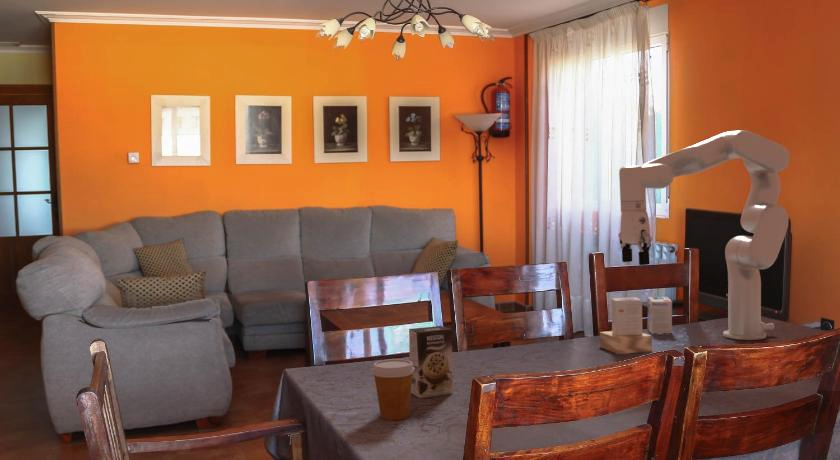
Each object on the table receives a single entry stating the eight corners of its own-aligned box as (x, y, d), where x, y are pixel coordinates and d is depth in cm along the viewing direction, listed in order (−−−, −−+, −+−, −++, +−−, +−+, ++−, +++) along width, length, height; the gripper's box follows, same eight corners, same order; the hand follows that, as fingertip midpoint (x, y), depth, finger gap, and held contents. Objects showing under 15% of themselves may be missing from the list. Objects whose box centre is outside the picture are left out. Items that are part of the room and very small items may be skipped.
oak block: (632, 345, 259) (632, 329, 258) (651, 352, 248) (651, 335, 248) (600, 348, 256) (599, 332, 255) (618, 355, 245) (618, 338, 245)
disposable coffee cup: (376, 410, 194) (375, 358, 193) (417, 410, 193) (416, 358, 192) (370, 422, 184) (368, 368, 184) (413, 422, 184) (412, 368, 183)
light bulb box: (647, 328, 282) (646, 296, 282) (667, 328, 281) (667, 296, 281) (651, 334, 272) (651, 301, 271) (673, 334, 271) (672, 301, 270)
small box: (638, 331, 254) (637, 297, 253) (643, 335, 248) (642, 299, 248) (611, 332, 254) (611, 297, 253) (615, 336, 248) (615, 300, 248)
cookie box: (419, 398, 203) (417, 332, 202) (409, 392, 209) (407, 328, 207) (454, 393, 206) (452, 328, 205) (442, 388, 212) (441, 324, 211)
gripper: (660, 206, 247) (662, 264, 248) (629, 205, 264) (631, 259, 265) (637, 208, 245) (639, 267, 246) (608, 206, 262) (610, 261, 263)
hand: (635, 263), depth 256 cm, fingers open, 9 cm apart
